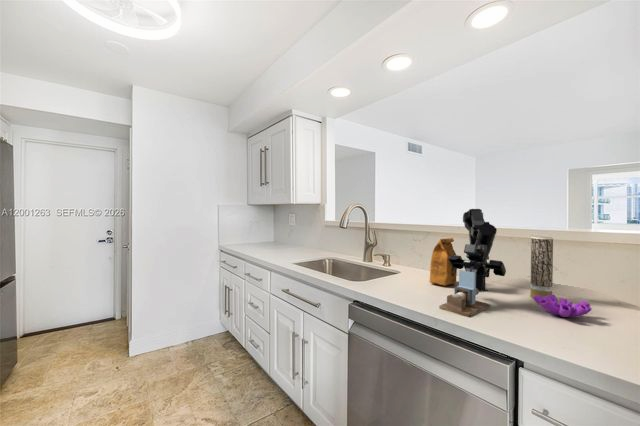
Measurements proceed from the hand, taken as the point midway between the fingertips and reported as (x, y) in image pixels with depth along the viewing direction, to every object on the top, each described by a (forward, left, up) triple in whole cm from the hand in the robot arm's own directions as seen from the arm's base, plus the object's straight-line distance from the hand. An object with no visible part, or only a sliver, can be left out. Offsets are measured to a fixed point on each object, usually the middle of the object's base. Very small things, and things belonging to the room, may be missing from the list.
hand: (468, 282), depth 100 cm
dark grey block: (+4, +2, -7) cm, 8 cm away
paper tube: (-35, -4, -9) cm, 36 cm away
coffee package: (-9, -30, -8) cm, 32 cm away
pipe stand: (+2, +1, -9) cm, 9 cm away
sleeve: (+2, +1, -7) cm, 7 cm away
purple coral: (-25, +12, -9) cm, 29 cm away
